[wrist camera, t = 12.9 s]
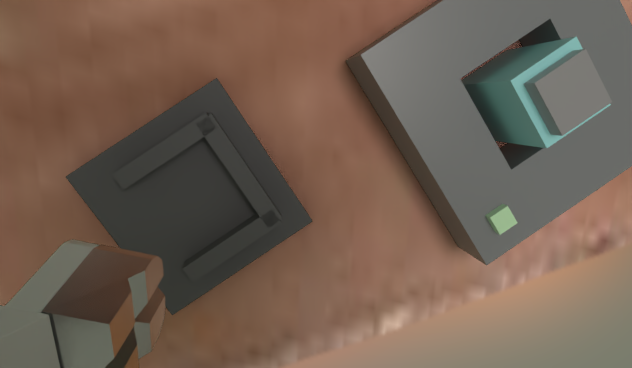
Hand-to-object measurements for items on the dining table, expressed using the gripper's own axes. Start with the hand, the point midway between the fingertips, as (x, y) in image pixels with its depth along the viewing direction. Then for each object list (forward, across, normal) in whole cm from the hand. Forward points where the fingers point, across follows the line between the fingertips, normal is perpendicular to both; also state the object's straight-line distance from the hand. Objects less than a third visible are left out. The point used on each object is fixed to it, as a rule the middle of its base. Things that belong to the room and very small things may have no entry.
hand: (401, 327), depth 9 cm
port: (+26, -7, +5) cm, 28 cm away
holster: (+19, +10, +12) cm, 25 cm away
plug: (+26, -7, +5) cm, 28 cm away
